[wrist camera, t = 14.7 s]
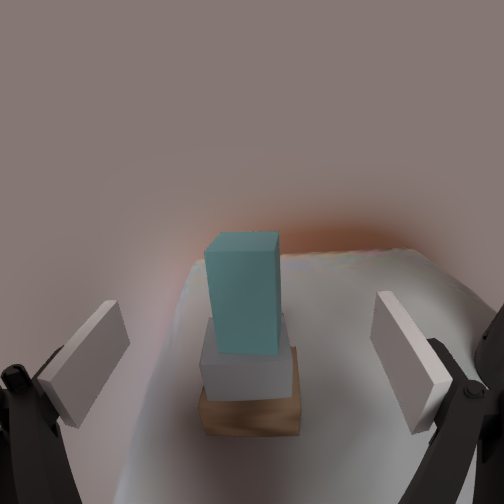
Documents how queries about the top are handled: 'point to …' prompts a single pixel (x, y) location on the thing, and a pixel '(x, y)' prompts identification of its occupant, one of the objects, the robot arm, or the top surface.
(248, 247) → the column block
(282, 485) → the top surface
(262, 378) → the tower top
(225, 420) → the tower base
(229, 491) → the top surface
